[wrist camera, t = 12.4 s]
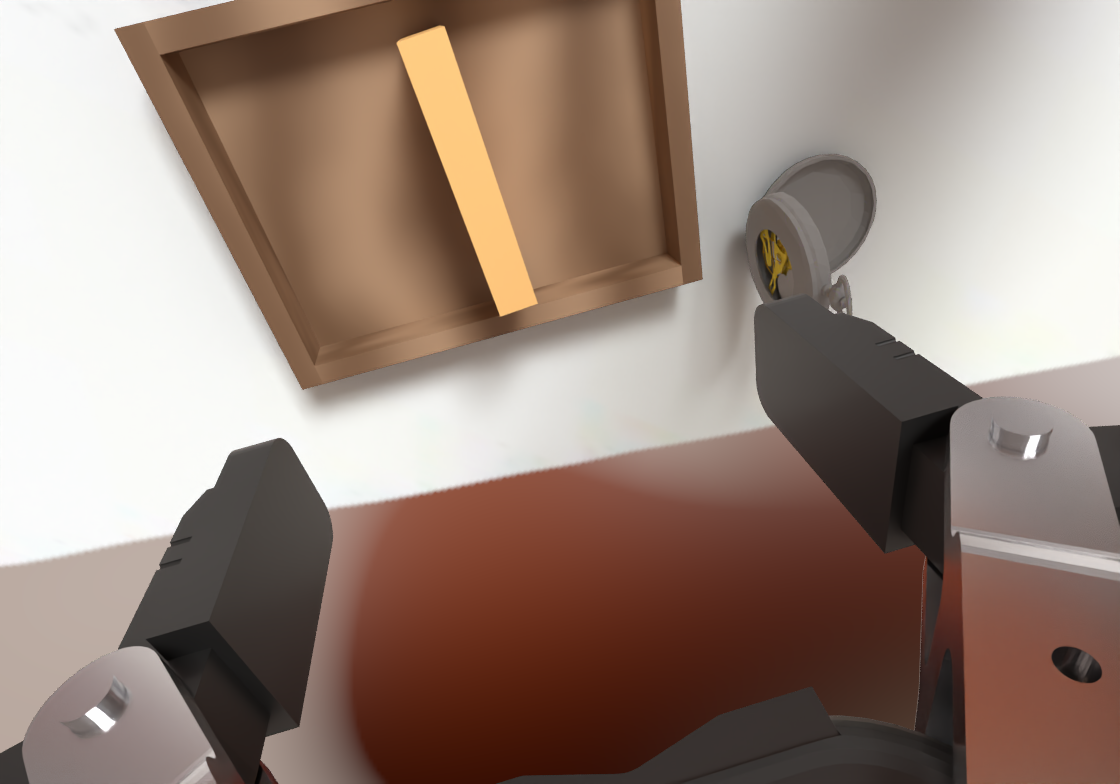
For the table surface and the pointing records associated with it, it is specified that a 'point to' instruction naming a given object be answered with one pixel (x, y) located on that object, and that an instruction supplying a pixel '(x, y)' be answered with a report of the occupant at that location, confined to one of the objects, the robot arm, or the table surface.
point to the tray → (428, 162)
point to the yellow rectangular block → (467, 165)
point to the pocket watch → (810, 230)
